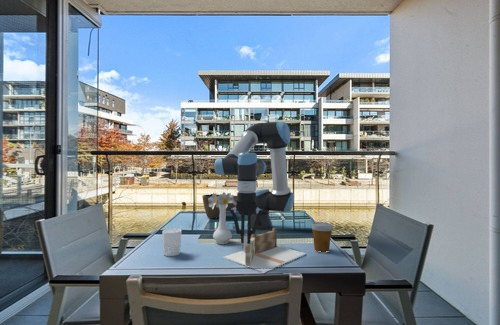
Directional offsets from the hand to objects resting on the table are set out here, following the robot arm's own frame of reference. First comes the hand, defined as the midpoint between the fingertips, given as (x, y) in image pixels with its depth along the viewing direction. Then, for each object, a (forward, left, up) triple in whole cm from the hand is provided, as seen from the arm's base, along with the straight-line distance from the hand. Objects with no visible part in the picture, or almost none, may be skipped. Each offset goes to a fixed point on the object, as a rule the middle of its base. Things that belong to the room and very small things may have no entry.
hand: (245, 251), depth 107 cm
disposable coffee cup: (-35, +14, -5) cm, 38 cm away
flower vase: (-11, -28, -5) cm, 31 cm away
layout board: (-11, +1, -5) cm, 12 cm away
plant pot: (-46, -78, -5) cm, 91 cm away
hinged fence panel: (-3, 0, -4) cm, 5 cm away
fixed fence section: (-16, -4, -4) cm, 17 cm away
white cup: (+15, -30, -5) cm, 34 cm away
